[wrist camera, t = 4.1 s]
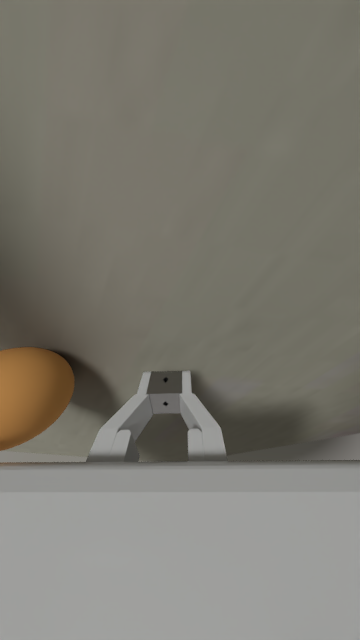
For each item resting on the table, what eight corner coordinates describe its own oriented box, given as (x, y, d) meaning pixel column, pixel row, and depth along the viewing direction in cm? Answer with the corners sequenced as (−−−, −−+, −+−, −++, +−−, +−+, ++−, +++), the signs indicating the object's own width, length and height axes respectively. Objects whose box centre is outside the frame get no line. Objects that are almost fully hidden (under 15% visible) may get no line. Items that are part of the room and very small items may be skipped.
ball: (74, 329, 10) (-23, 411, 5) (99, 384, 13) (48, 472, 8) (-4, 331, 10) (-168, 413, 5) (36, 385, 13) (-51, 472, 8)
